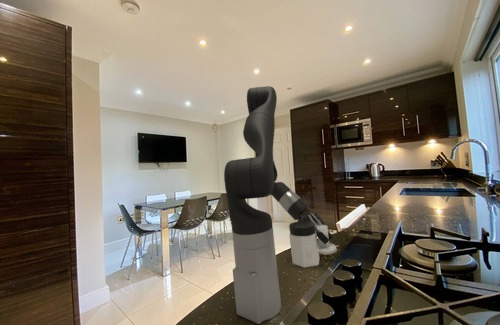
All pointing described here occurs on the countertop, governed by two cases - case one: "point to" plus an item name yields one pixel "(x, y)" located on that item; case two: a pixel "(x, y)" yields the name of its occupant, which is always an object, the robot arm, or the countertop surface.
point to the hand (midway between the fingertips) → (329, 240)
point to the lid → (327, 247)
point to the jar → (304, 244)
